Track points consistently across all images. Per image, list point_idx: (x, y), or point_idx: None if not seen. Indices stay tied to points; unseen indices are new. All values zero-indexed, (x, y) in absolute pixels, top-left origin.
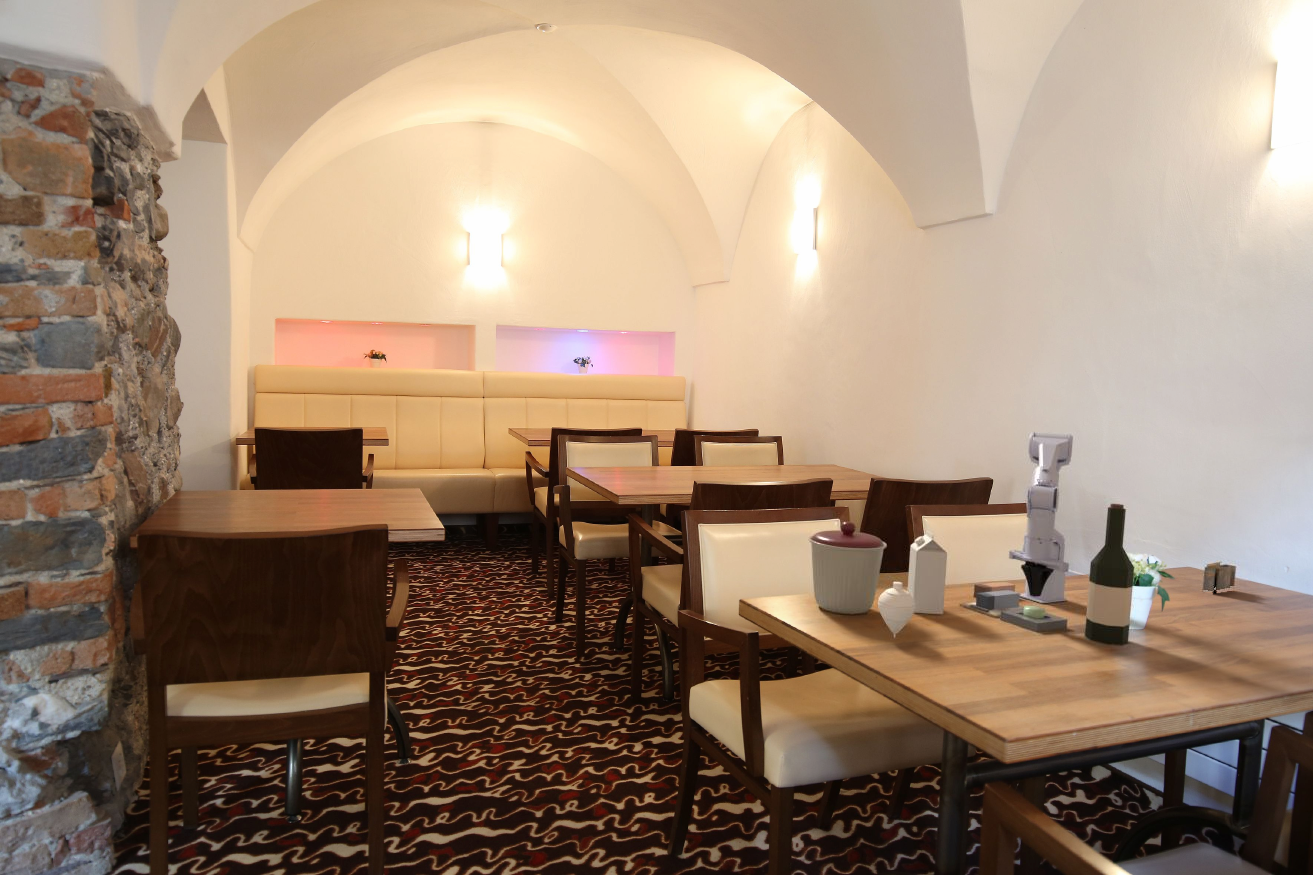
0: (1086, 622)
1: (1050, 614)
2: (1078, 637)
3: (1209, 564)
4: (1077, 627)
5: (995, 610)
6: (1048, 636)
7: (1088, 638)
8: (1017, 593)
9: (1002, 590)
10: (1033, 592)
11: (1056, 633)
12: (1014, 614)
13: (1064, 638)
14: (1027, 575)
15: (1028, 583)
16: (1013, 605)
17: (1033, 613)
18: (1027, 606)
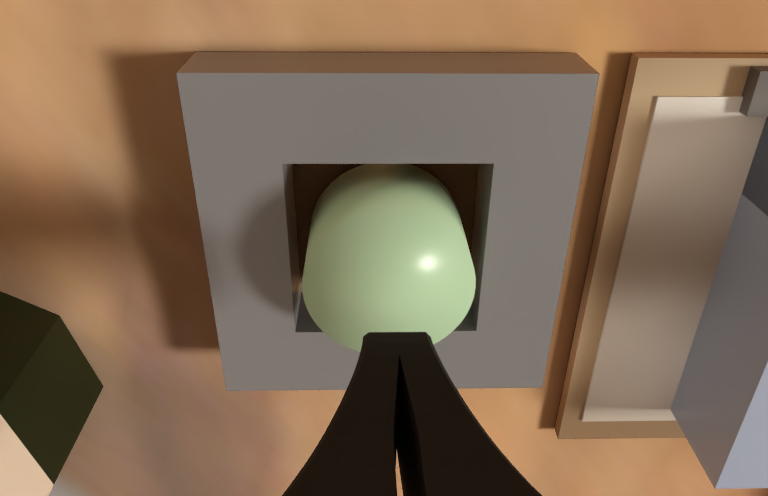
0: (2, 377)
1: None
2: (30, 250)
3: None
4: (233, 413)
5: (721, 187)
6: (71, 46)
7: (1, 292)
8: (724, 473)
9: None
10: (373, 351)
11: (138, 182)
12: (469, 112)
13: (10, 131)
14: (478, 488)
15: (452, 408)
16: (689, 378)
17: (336, 212)
18: (453, 277)
